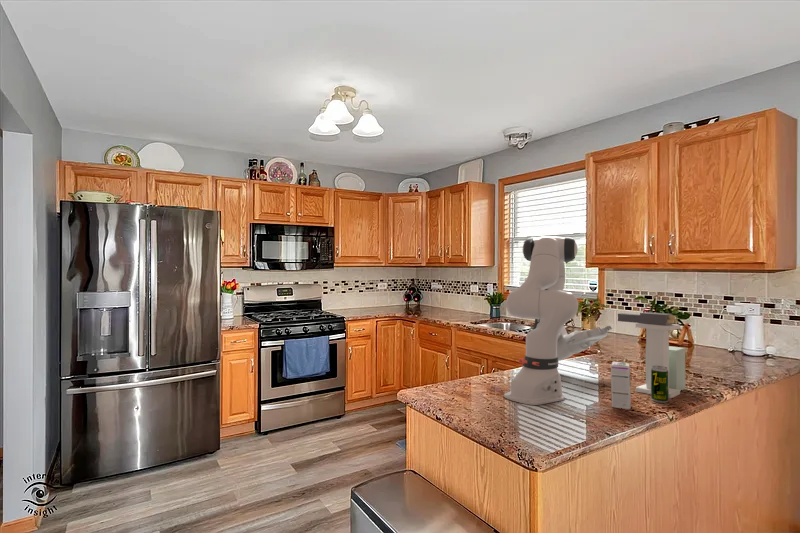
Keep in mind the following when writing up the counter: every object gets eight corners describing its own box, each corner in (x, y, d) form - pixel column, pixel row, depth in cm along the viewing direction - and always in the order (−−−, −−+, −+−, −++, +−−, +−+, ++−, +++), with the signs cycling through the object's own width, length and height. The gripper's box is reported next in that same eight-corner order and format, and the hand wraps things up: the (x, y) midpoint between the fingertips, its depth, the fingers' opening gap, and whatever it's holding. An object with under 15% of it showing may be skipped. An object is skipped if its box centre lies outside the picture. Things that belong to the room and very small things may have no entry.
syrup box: (630, 409, 144) (630, 366, 144) (610, 407, 147) (610, 364, 147) (630, 405, 149) (630, 362, 149) (611, 402, 152) (611, 361, 152)
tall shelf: (670, 398, 157) (670, 326, 157) (635, 391, 166) (635, 323, 167) (680, 394, 163) (679, 324, 163) (645, 387, 172) (645, 321, 172)
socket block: (676, 392, 164) (676, 350, 165) (645, 386, 173) (645, 346, 173) (685, 388, 170) (685, 348, 170) (655, 383, 179) (654, 344, 179)
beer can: (650, 398, 158) (650, 364, 158) (667, 399, 155) (667, 366, 155) (651, 402, 153) (651, 367, 153) (669, 404, 150) (669, 369, 151)
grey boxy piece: (616, 321, 174) (616, 311, 174) (623, 320, 178) (623, 310, 178) (671, 326, 158) (671, 315, 158) (678, 325, 162) (678, 314, 162)
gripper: (561, 336, 184) (588, 322, 175) (586, 332, 197) (612, 319, 188) (568, 350, 182) (596, 337, 172) (593, 345, 195) (620, 333, 185)
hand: (605, 328), depth 180 cm, fingers open, 8 cm apart
